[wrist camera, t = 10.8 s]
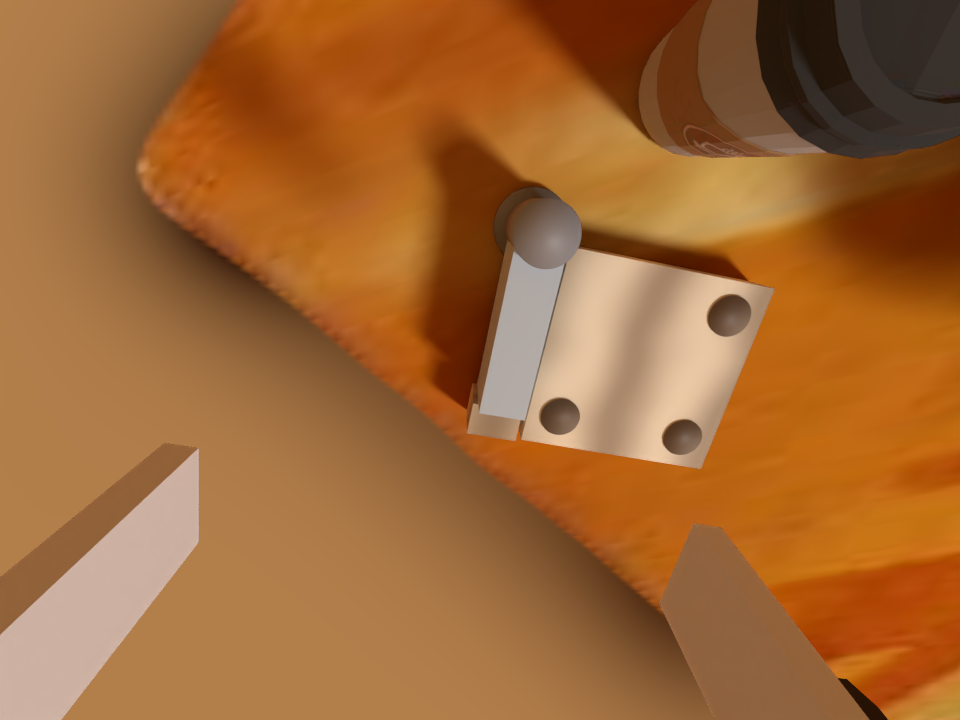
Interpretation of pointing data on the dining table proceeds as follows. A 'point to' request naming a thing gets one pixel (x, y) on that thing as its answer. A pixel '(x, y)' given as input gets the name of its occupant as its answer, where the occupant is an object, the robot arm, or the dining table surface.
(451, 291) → the dining table surface
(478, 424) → the seat panel
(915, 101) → the coffee cup
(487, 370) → the leg bar
